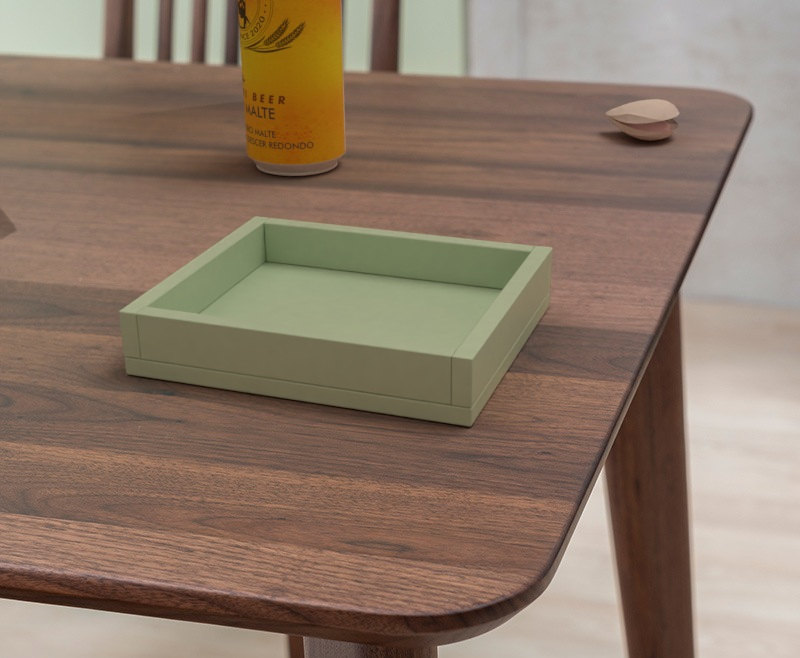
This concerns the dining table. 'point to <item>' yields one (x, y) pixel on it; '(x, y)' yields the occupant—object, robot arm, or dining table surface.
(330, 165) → the beer can
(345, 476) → the dining table surface
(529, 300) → the serving tray
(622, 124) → the pistachio shell
